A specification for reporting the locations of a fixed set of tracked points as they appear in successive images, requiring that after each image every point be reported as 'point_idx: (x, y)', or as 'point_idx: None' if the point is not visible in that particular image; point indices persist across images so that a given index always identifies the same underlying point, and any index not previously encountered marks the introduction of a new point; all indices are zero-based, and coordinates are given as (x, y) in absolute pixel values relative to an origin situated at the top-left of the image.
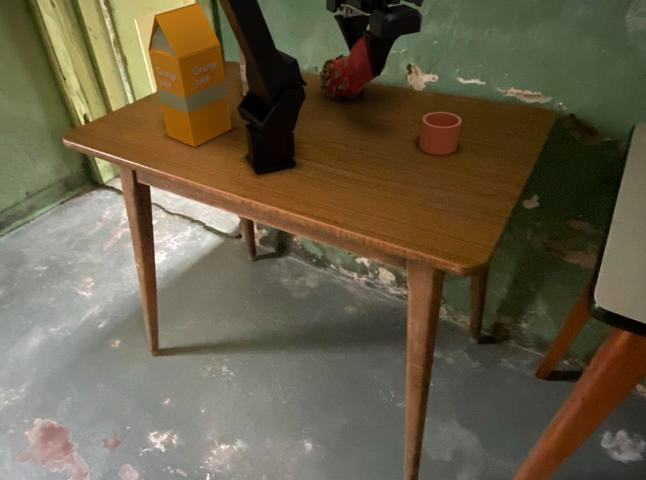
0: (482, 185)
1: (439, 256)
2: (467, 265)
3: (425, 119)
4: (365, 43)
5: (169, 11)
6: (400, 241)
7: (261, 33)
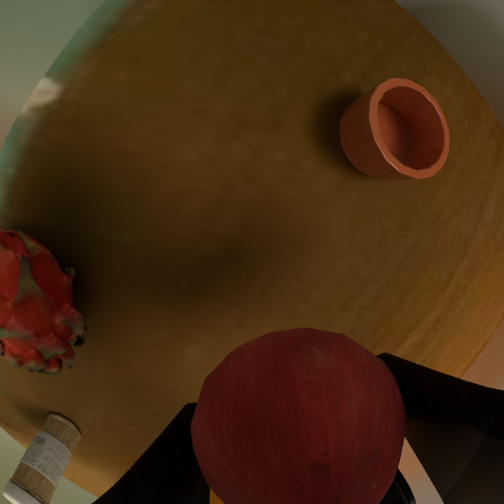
0: (483, 142)
1: None
2: None
3: (406, 167)
4: (446, 501)
5: None
6: None
7: None
